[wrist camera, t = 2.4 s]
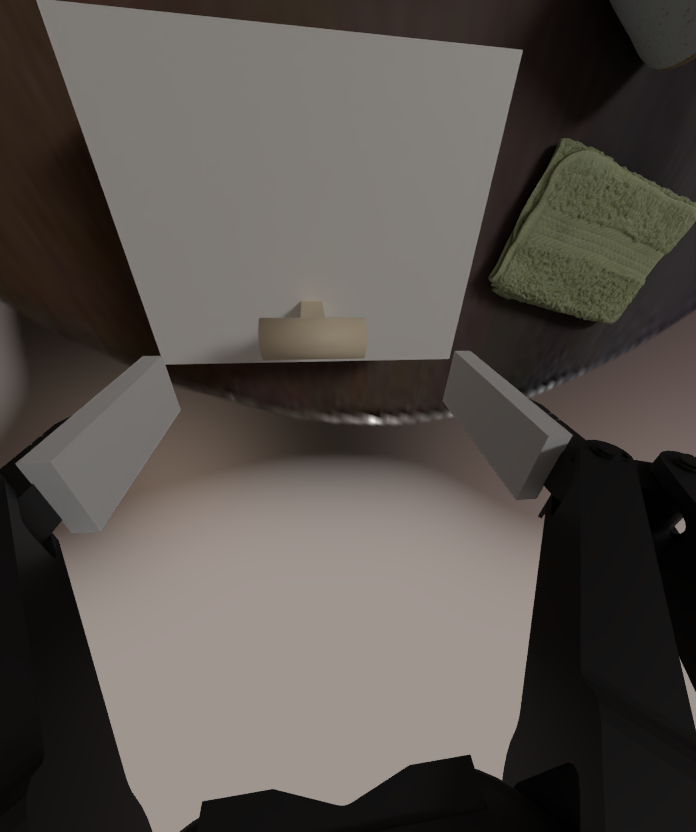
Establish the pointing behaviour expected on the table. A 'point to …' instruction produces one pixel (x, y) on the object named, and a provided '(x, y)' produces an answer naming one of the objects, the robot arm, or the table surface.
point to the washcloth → (589, 236)
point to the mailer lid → (287, 178)
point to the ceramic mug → (660, 30)
